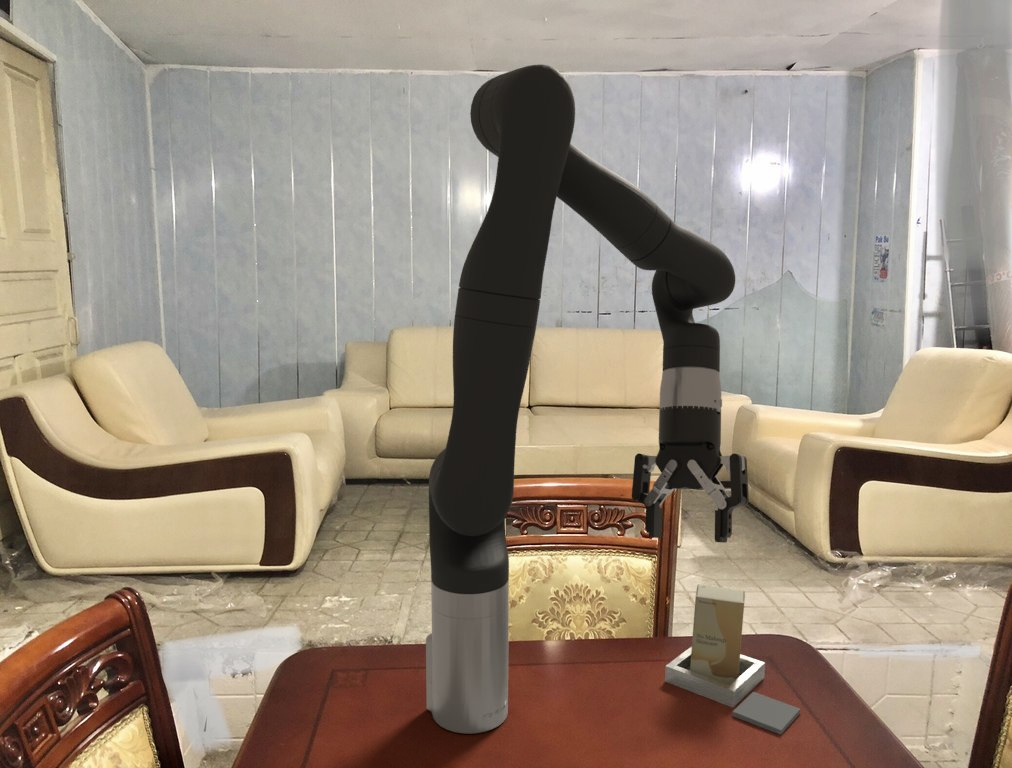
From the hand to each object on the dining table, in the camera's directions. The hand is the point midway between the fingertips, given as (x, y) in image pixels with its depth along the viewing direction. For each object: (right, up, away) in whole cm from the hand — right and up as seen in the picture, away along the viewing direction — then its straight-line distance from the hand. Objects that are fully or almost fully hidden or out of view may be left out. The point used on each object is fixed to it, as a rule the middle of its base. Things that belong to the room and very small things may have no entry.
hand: (687, 539), depth 98 cm
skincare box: (+6, -20, +9) cm, 23 cm away
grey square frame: (+6, -20, +9) cm, 23 cm away
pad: (+10, -21, +1) cm, 24 cm away
